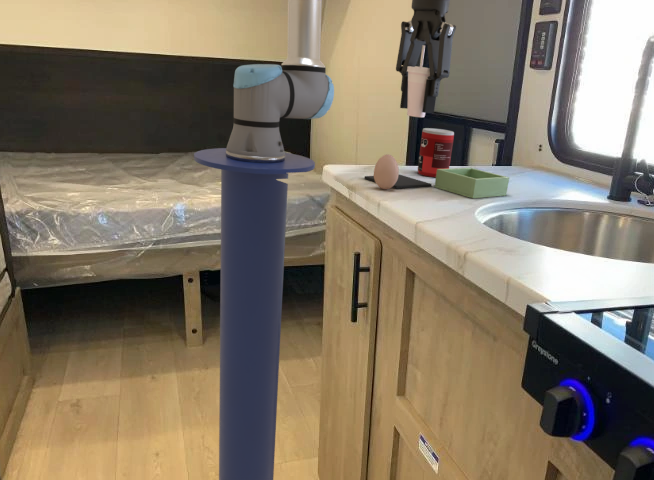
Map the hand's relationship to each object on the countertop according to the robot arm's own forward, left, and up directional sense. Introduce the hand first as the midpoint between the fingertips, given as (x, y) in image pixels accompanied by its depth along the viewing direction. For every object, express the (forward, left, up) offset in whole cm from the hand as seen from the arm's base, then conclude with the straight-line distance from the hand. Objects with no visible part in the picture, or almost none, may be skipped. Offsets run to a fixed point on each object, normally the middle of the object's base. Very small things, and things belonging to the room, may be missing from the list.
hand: (416, 110), depth 128 cm
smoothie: (0, 0, -1) cm, 1 cm away
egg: (+1, -8, -17) cm, 18 cm away
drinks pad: (-4, +1, -16) cm, 17 cm away
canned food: (-10, +18, -17) cm, 27 cm away
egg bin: (+8, +12, -16) cm, 22 cm away
